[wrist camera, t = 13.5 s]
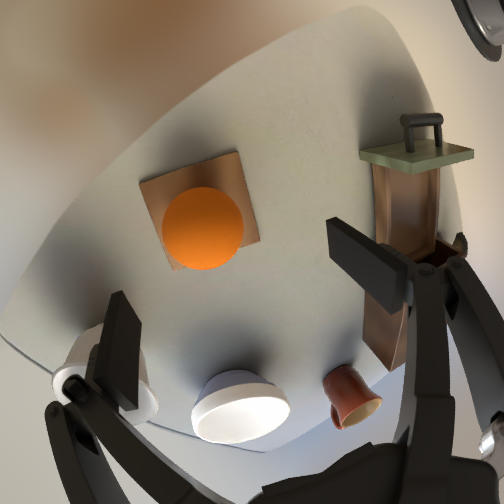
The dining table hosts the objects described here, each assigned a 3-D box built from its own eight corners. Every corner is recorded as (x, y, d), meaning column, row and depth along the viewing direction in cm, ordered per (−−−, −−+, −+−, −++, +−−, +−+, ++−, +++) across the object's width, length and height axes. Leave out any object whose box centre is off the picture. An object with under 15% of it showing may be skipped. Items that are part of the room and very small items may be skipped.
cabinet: (365, 258, 36) (407, 291, 28) (426, 230, 38) (466, 253, 30) (362, 339, 45) (389, 372, 37) (415, 308, 46) (443, 334, 39)
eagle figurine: (459, 247, 42) (460, 220, 36) (470, 278, 38) (474, 254, 32) (427, 258, 46) (423, 233, 40) (436, 290, 41) (435, 268, 36)
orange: (228, 170, 25) (236, 188, 19) (245, 235, 29) (258, 272, 22) (157, 192, 25) (141, 218, 19) (180, 254, 28) (175, 295, 22)
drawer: (353, 114, 26) (407, 117, 19) (424, 109, 28) (472, 115, 21) (366, 270, 37) (404, 303, 29) (425, 241, 39) (462, 264, 31)
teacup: (49, 347, 28) (32, 402, 19) (97, 282, 27) (77, 344, 18) (115, 387, 34) (113, 441, 25) (174, 337, 33) (181, 400, 24)
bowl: (264, 403, 45) (277, 436, 38) (186, 411, 40) (192, 447, 34) (283, 351, 39) (303, 388, 33) (187, 357, 35) (194, 401, 28)
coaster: (237, 151, 25) (238, 151, 25) (259, 239, 30) (260, 241, 30) (139, 183, 24) (138, 184, 24) (173, 269, 29) (173, 271, 28)
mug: (328, 362, 44) (356, 404, 36) (362, 357, 47) (390, 393, 39) (304, 401, 49) (324, 440, 40) (337, 395, 52) (358, 429, 43)
